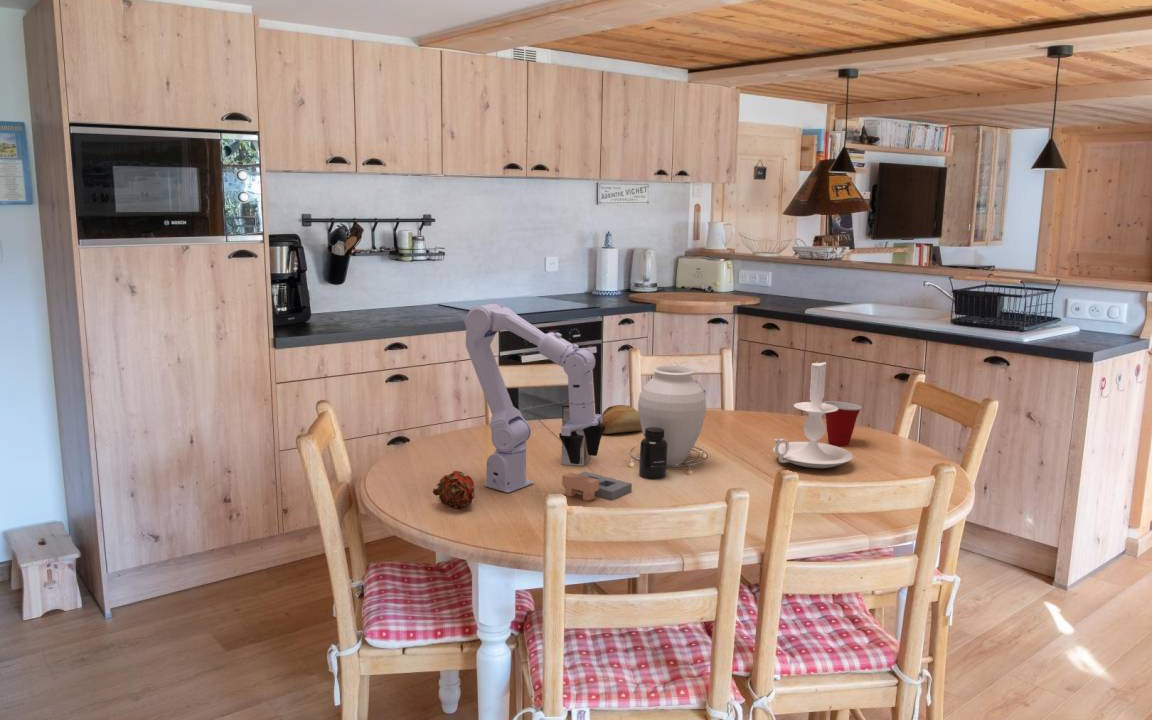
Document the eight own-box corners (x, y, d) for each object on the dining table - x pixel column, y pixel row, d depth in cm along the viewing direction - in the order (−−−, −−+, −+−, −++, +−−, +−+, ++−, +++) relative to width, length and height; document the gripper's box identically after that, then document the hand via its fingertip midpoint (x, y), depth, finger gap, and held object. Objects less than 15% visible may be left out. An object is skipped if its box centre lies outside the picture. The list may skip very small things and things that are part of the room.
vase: (622, 460, 236) (625, 368, 231) (663, 448, 248) (666, 360, 244) (676, 476, 224) (680, 379, 219) (716, 461, 237) (721, 370, 232)
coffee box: (568, 455, 240) (569, 397, 237) (591, 456, 239) (592, 398, 236) (560, 464, 231) (561, 404, 228) (584, 466, 230) (586, 406, 227)
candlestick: (744, 461, 238) (750, 358, 233) (809, 448, 251) (816, 351, 246) (802, 482, 221) (810, 372, 216) (868, 468, 234) (877, 364, 229)
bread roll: (590, 431, 265) (591, 405, 263) (630, 425, 273) (631, 400, 271) (608, 439, 257) (609, 412, 255) (650, 432, 265) (651, 406, 263)
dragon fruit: (460, 522, 194) (445, 512, 204) (489, 495, 196) (473, 487, 207) (437, 493, 191) (422, 485, 202) (466, 467, 194) (451, 460, 205)
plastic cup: (866, 445, 256) (870, 405, 253) (842, 451, 250) (845, 409, 247) (836, 436, 264) (839, 397, 262) (812, 441, 258) (815, 401, 256)
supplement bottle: (658, 481, 219) (660, 434, 217) (634, 476, 223) (635, 430, 221) (670, 474, 225) (672, 428, 223) (646, 469, 229) (648, 424, 227)
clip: (590, 502, 203) (591, 482, 202) (562, 494, 208) (562, 475, 207) (598, 499, 206) (599, 479, 205) (569, 491, 211) (570, 472, 210)
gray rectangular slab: (612, 500, 205) (612, 491, 205) (564, 487, 213) (564, 479, 213) (631, 491, 211) (631, 483, 211) (584, 479, 220) (584, 471, 219)
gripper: (578, 409, 196) (581, 469, 198) (612, 397, 208) (614, 453, 210) (552, 407, 200) (555, 465, 202) (587, 395, 212) (589, 450, 214)
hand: (583, 459), depth 206 cm, fingers open, 7 cm apart
